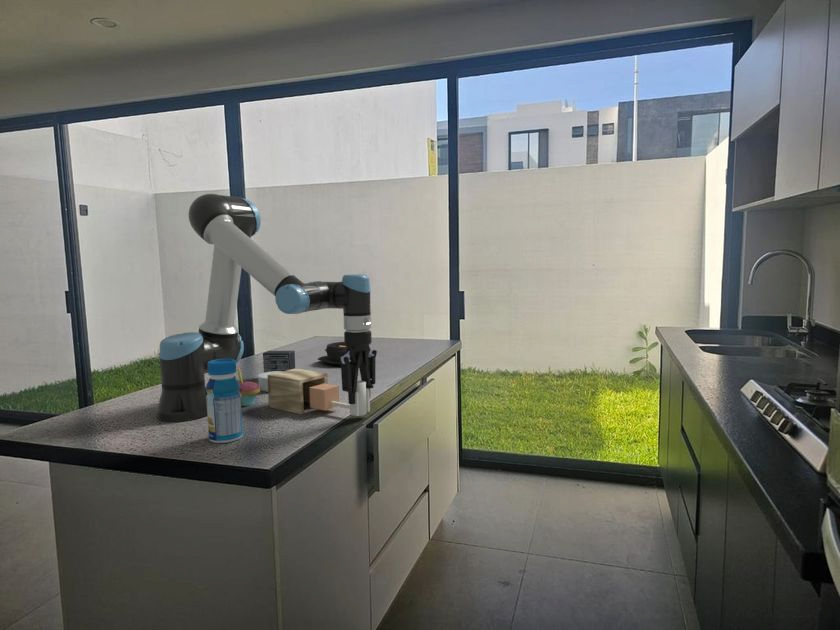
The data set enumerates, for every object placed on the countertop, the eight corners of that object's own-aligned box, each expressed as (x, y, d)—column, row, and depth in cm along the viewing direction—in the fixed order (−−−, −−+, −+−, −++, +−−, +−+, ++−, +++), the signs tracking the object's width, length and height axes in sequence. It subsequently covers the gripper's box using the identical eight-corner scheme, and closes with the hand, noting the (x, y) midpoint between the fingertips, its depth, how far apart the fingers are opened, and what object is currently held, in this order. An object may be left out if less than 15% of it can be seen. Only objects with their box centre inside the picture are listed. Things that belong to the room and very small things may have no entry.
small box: (296, 377, 209) (295, 349, 208) (291, 380, 203) (289, 353, 202) (269, 376, 210) (268, 349, 209) (263, 380, 204) (262, 352, 203)
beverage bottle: (230, 445, 133) (226, 364, 131) (200, 442, 136) (196, 363, 134) (250, 434, 142) (246, 358, 139) (221, 432, 144) (217, 357, 142)
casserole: (381, 361, 237) (381, 342, 236) (357, 370, 221) (357, 349, 220) (334, 357, 248) (333, 339, 248) (308, 365, 232) (307, 345, 231)
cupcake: (231, 408, 166) (229, 369, 165) (232, 401, 174) (231, 364, 173) (260, 406, 168) (258, 368, 167) (260, 399, 177) (259, 362, 175)
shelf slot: (300, 414, 159) (299, 380, 158) (268, 407, 167) (267, 375, 166) (328, 405, 169) (327, 373, 167) (296, 398, 177) (295, 368, 175)
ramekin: (279, 394, 184) (278, 378, 183) (251, 392, 187) (250, 376, 186) (297, 386, 194) (296, 371, 193) (270, 384, 198) (269, 370, 197)
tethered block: (357, 417, 150) (356, 385, 149) (310, 407, 161) (309, 377, 160) (371, 412, 155) (371, 381, 154) (324, 402, 166) (323, 373, 165)
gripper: (346, 335, 142) (349, 422, 144) (387, 327, 156) (389, 407, 158) (325, 333, 146) (329, 418, 149) (367, 326, 160) (369, 404, 163)
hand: (360, 412), depth 154 cm, fingers closed on tethered block, 4 cm apart
